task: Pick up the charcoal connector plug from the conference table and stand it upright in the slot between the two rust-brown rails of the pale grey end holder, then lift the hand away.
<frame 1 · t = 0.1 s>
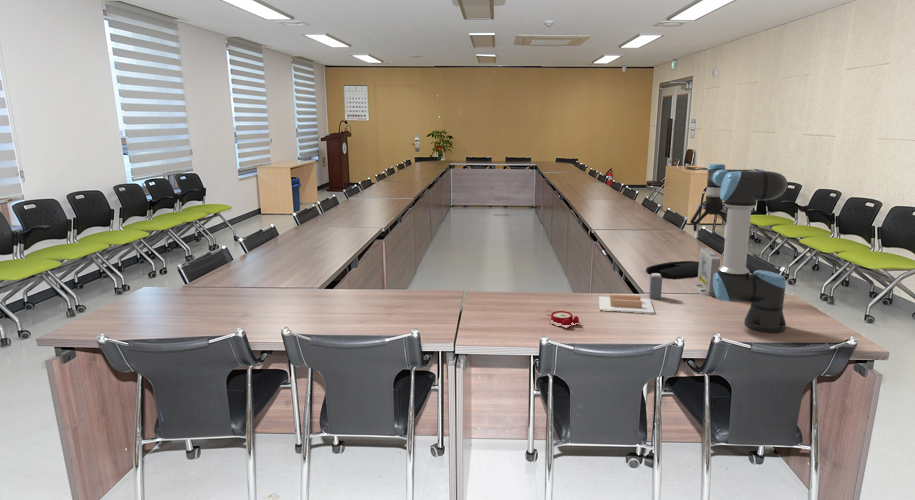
hand: (710, 238, 271), 28 cm above the table, tool pointing down, fingers open, 13 cm apart
end holder: (625, 305, 257), on the table
network device: (706, 290, 280), on the table
connector plug: (654, 297, 269), on the table
alarm clock: (564, 324, 235), on the table
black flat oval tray: (680, 272, 317), on the table
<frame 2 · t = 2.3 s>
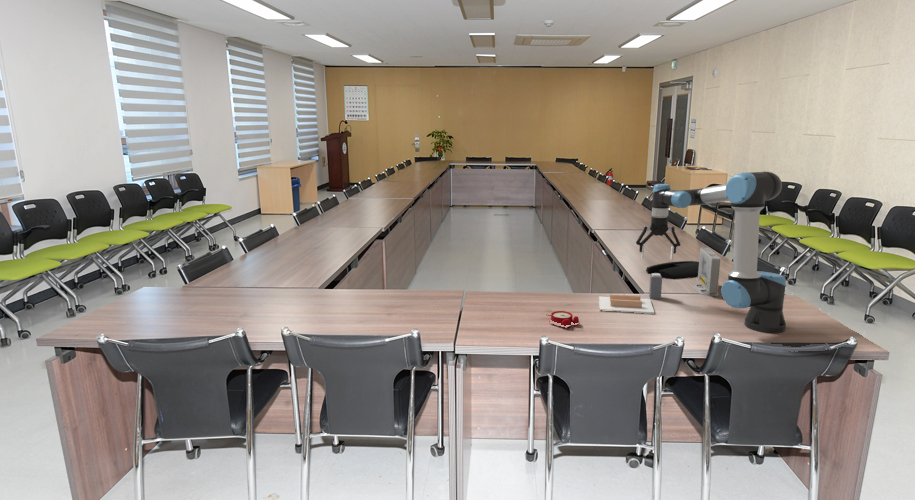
hand: (656, 259, 265), 20 cm above the table, tool pointing down, fingers open, 13 cm apart
nothing on the table moved.
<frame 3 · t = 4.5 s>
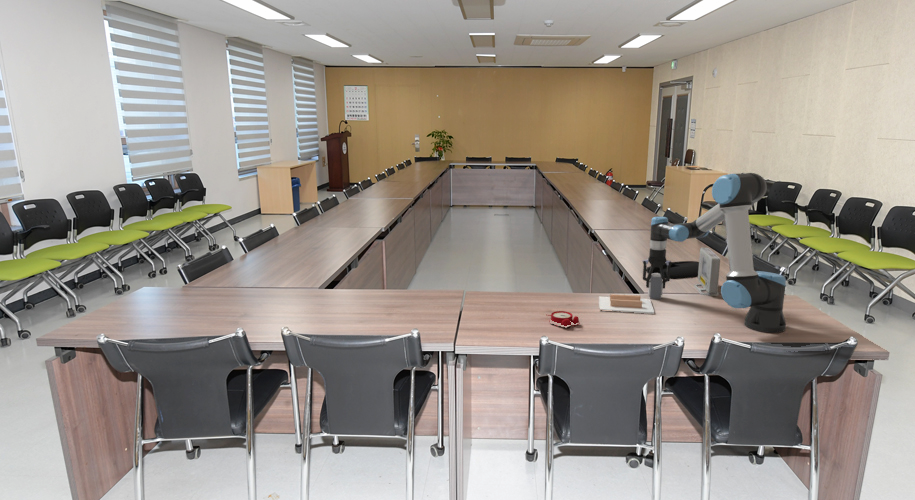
hand: (655, 294, 269), 2 cm above the table, tool pointing down, fingers closed on connector plug, 5 cm apart
connector plug: (654, 297, 269), on the table, touching gripper
everything else where it was.
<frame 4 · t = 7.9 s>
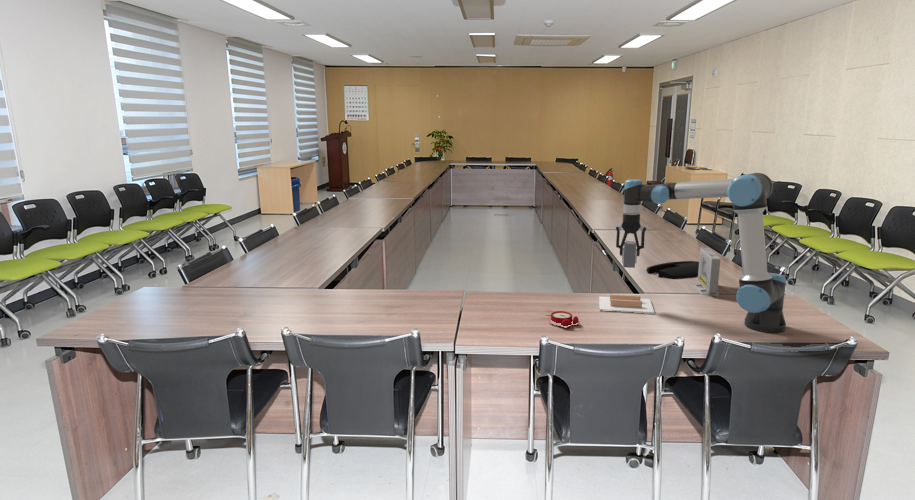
hand: (629, 262, 254), 21 cm above the table, tool pointing down, fingers closed on connector plug, 5 cm apart
connector plug: (628, 266, 254), point 19 cm above the table, touching gripper
everything else where it was.
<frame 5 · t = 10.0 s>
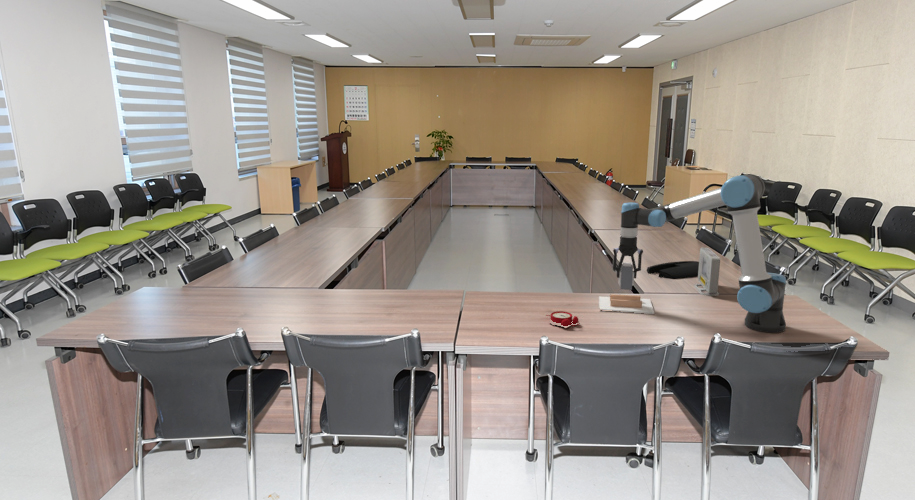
hand: (626, 284, 255), 11 cm above the table, tool pointing down, fingers closed on connector plug, 5 cm apart
connector plug: (625, 288, 256), point 9 cm above the table, touching gripper
everything else where it was.
when the fingers open (4 cm above the table, at t = 11.5 s): connector plug drops 1 cm, resting on end holder.
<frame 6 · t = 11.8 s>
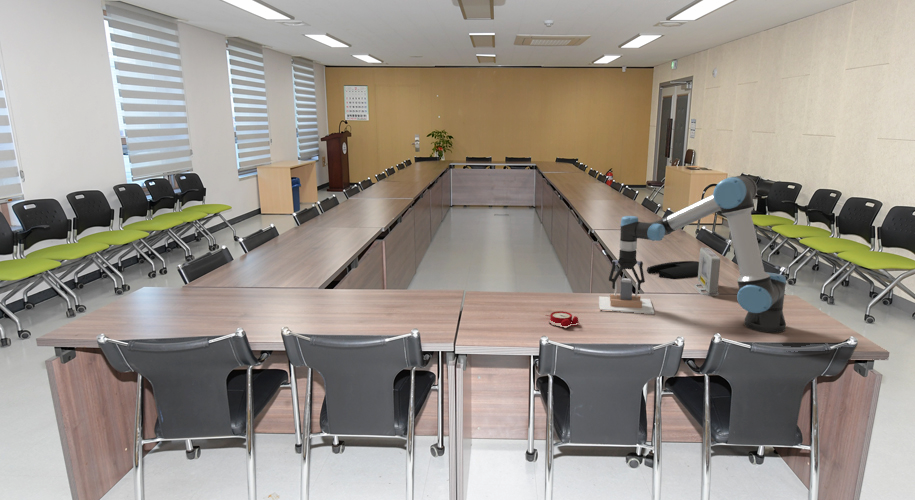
hand: (625, 296, 256), 5 cm above the table, tool pointing down, fingers open, 9 cm apart
connector plug: (625, 303, 257), point 1 cm above the table, touching end holder
everything else where it was.
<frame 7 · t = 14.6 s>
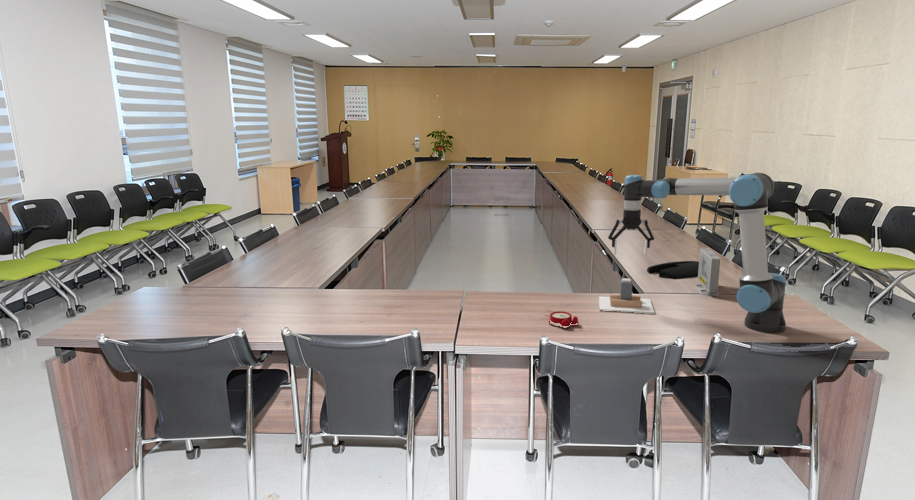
hand: (630, 254, 252), 25 cm above the table, tool pointing down, fingers open, 13 cm apart
nothing on the table moved.
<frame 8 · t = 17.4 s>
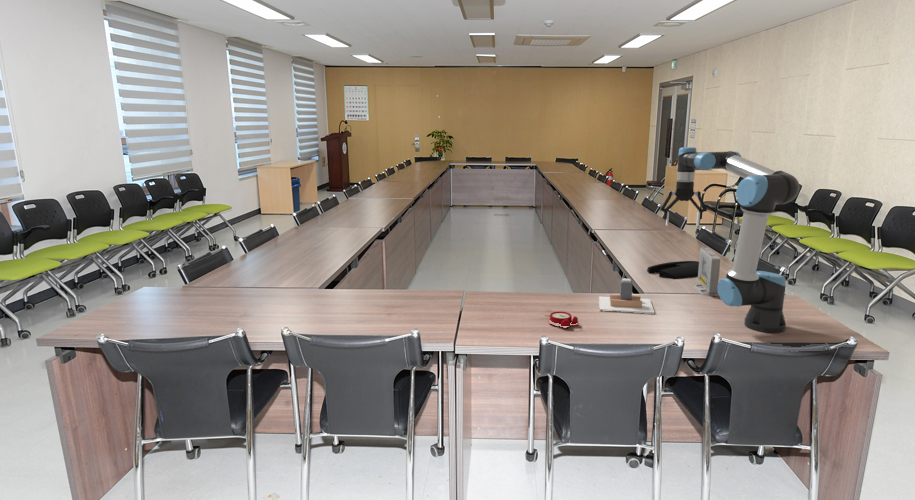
hand: (682, 225, 257), 37 cm above the table, tool pointing down, fingers open, 13 cm apart
nothing on the table moved.
at the end: connector plug inside the target area on the end holder (0.0 cm from its centre), point 1.0 cm above the end holder's base; connector plug tilted 0°; the gripper is holding nothing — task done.
